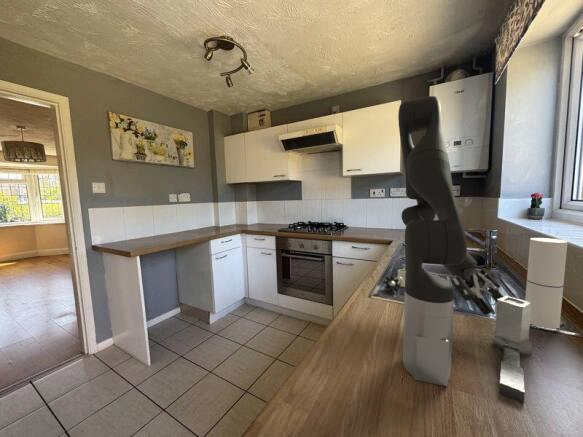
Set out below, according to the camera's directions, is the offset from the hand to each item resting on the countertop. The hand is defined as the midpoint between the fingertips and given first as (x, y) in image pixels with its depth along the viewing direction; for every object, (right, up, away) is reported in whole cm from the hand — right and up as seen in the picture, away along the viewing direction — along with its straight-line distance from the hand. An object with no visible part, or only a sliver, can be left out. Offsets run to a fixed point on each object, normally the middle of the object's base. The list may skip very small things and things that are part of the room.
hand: (497, 309), depth 61 cm
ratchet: (-4, -9, -8) cm, 13 cm away
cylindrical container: (+19, -7, +8) cm, 22 cm away
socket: (+1, -6, -2) cm, 7 cm away
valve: (-9, -5, +37) cm, 38 cm away
